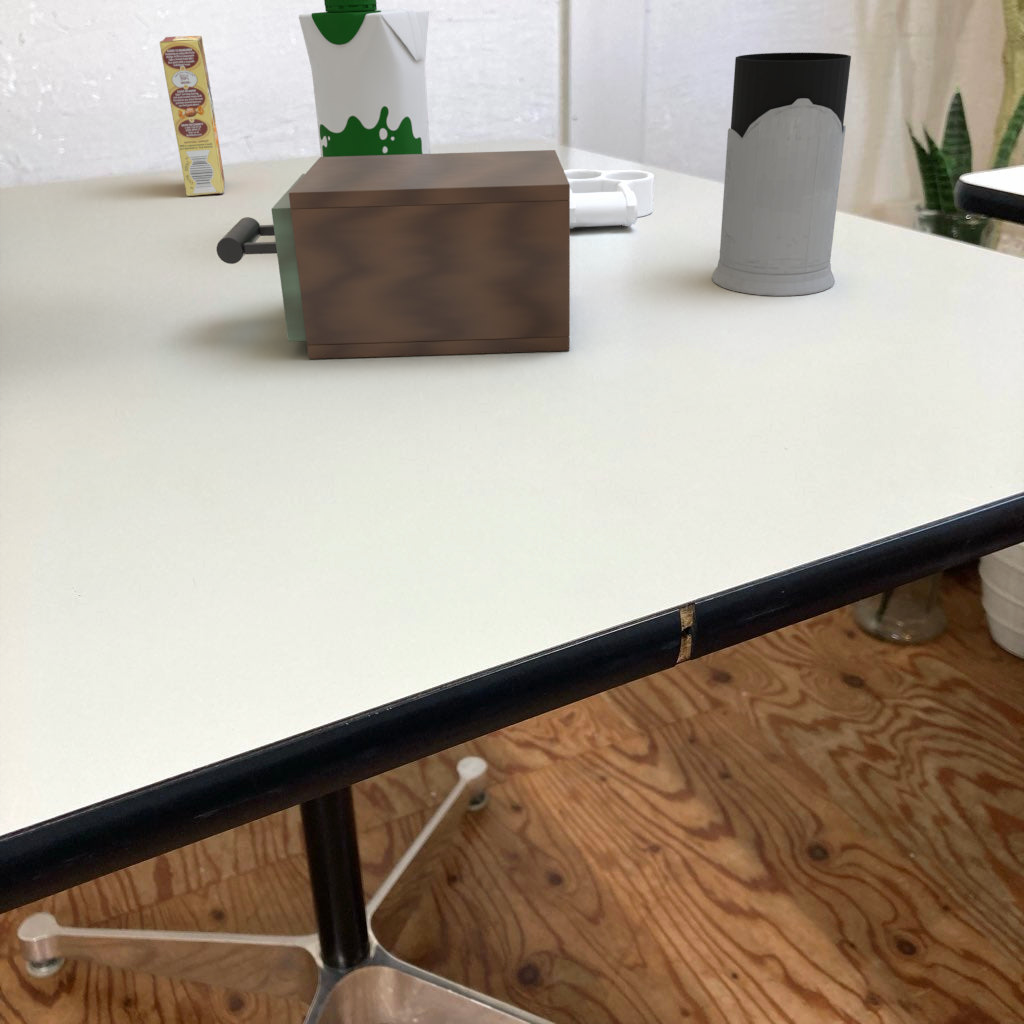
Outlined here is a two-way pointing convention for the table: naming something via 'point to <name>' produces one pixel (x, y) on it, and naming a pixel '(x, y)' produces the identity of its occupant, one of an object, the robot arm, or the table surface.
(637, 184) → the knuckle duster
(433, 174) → the cabinet
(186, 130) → the candy box
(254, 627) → the table surface
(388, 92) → the milk carton
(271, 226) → the drawer
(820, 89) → the glass holder
